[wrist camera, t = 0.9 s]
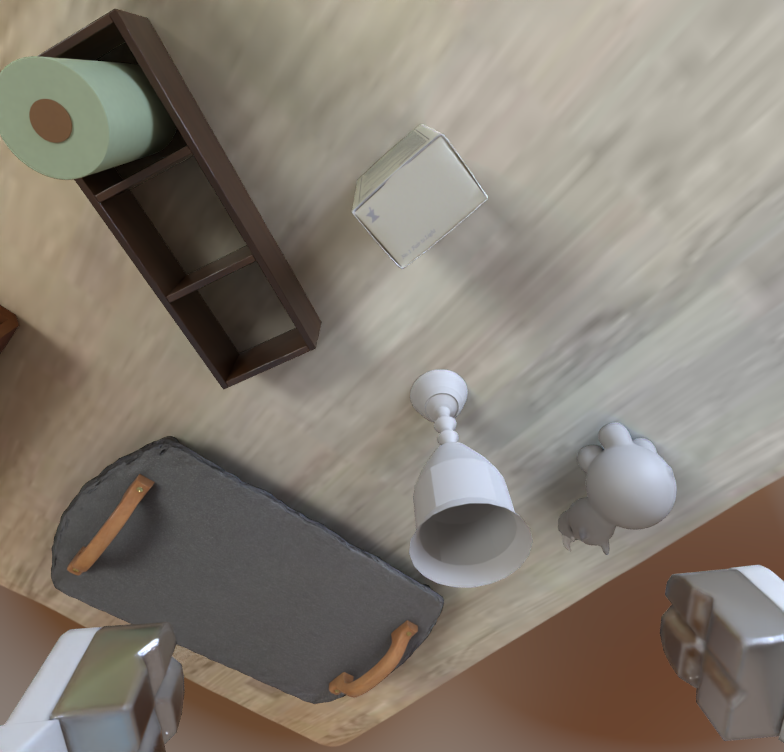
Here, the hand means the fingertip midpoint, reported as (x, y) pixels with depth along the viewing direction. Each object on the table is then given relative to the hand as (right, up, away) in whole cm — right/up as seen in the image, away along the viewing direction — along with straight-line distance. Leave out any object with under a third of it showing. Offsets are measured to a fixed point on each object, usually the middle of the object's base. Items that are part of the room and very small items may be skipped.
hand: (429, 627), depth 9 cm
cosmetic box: (0, +19, +31) cm, 36 cm away
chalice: (+3, +3, +39) cm, 40 cm away
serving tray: (-15, -16, +49) cm, 54 cm away
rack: (-15, +16, +31) cm, 38 cm away
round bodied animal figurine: (+18, -5, +44) cm, 48 cm away
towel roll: (-18, +22, +28) cm, 40 cm away
